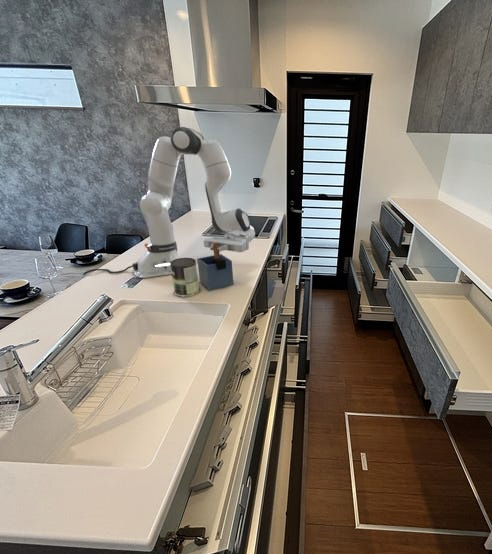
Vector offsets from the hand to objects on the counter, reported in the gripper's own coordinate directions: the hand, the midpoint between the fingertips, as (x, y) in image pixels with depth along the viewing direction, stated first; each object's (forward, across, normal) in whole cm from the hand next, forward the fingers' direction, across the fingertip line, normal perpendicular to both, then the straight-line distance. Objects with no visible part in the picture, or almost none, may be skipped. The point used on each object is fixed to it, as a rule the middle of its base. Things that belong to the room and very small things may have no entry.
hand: (214, 249), depth 132 cm
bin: (-2, -3, +18) cm, 18 cm away
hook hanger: (0, +1, +14) cm, 15 cm away
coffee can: (+10, -9, +18) cm, 23 cm away
